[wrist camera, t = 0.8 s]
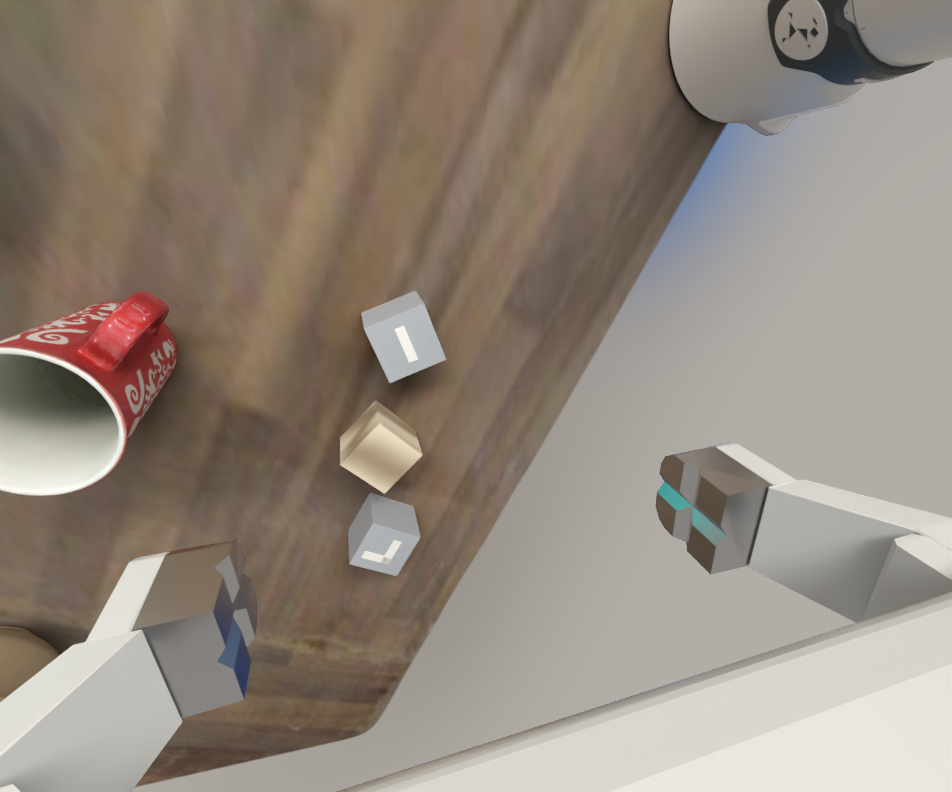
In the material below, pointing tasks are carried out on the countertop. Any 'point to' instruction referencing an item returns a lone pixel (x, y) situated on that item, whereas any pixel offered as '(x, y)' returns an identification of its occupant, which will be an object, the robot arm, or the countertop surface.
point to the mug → (79, 393)
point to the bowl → (21, 658)
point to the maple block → (379, 447)
